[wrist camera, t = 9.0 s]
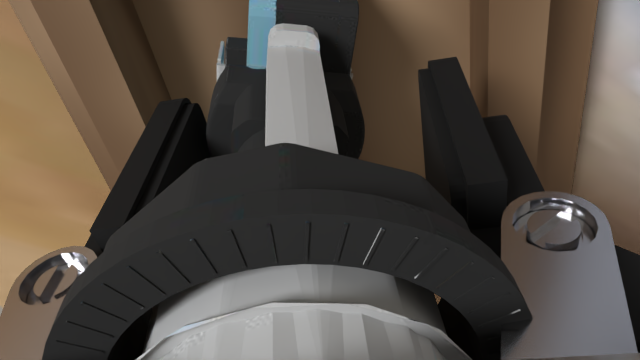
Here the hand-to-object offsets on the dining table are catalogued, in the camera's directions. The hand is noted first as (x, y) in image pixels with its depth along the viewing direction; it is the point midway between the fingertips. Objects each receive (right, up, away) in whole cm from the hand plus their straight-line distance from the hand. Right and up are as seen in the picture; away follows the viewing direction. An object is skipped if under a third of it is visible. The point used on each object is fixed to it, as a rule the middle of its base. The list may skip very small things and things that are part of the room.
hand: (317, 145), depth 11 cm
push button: (-1, +2, +3) cm, 3 cm away
